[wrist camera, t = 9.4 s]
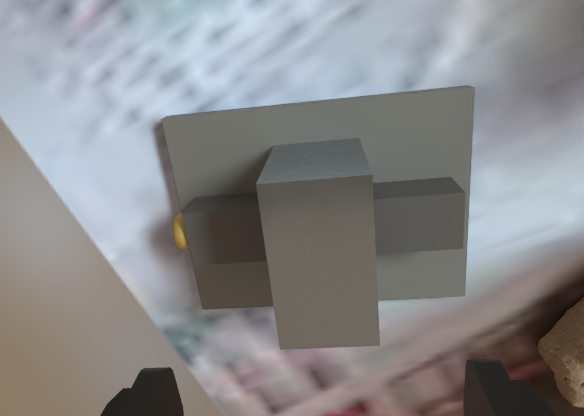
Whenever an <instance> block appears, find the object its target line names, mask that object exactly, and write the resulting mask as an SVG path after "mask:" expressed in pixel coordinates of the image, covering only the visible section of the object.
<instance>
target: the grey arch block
mask: <svg viewBox="0 0 584 416" xmlns="http://www.w3.org/2000/svg"><path fill="white" fill-rule="evenodd" d="M256 189H257V196H258V203H259V209H260V216H261V223H262V230H263V236H264V243H265V250H266V257H267V264H268V270H269V277H270V284H271V291H272V298H273V304H274V311H275V318H276V325H277V331H278V338H279V345H280V350H284V349H308V348H333V347H358V346H380V340H379V316H378V292H377V268H376V244H375V220H374V196H373V174H372V172H371V169H370V166H369V163H368V160H367V158H366V155H365V152H364V149H363V146H362V144H361V141H360V138H350V139H339V140H328V141H317V142H306V143H295V144H284V145H274V147H273V149H272V151H271V153H270V155H269V157H268V159H267V162H266V164H265V166H264V168H263V170H262V172H261V174H260V177H259V179H258V181H257V183H256Z"/></svg>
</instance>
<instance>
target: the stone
mask: <svg viewBox="0 0 584 416" xmlns="http://www.w3.org/2000/svg"><path fill="white" fill-rule="evenodd" d="M538 351H539V353H540V354H541V356H542V357H543V359H544V360H545V362H546V364H548V365H549V366H550V368H551V370H552V371H553V372H554V378H555V381H556V384H557V388H558V390H559V392H560V393H561V395H562V396H563V397H564V398H565V399H566V400H567V401H568V402H569V403H570V404H571V405H573V406H575V407H581V408H584V297H583V298H582V299H581V300H580V301H579V302H578V303H577V304H575V305H574V306H573V307H572V308H570V309H569V310H567V311H566V312H565V314H564V316H563V317H562V318H561V319H560V320H558V321H557V323H556V324H555V325H554V326H553V328H552V329H551V330H550V331H549V332H548V333H547V334H546V335H545V336H544V337H543V338H541V339H540V340H539V343H538Z"/></svg>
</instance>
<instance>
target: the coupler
mask: <svg viewBox="0 0 584 416" xmlns="http://www.w3.org/2000/svg"><path fill="white" fill-rule="evenodd" d="M474 89H475V88H474V87H471V86H458V87H448V88H439V89H429V90H419V91H409V92H399V93H389V94H379V95H370V96H360V97H350V98H340V99H330V100H320V101H310V102H300V103H291V104H281V105H271V106H261V107H251V108H241V109H231V110H222V111H212V112H202V113H192V114H182V115H172V116H167V117H165V118H163V119H161V120H162V125H163V130H164V134H165V139H166V143H167V148H168V152H169V157H170V162H171V166H172V171H173V175H174V180H175V184H176V189H177V193H178V198H179V203H180V207H181V212H182V213H179V214H177V215H176V217H175V220H174V226H173V232H174V239H175V243H176V245H177V247H178V248H179V249H180V250H183V249H190V253H191V258H192V262H193V267H194V271H195V276H196V280H197V285H198V289H199V294H200V298H201V303H202V308H203V309H221V308H241V307H260V306H274V304H273V298H272V291H271V284H270V277H269V270H268V264H267V257H266V250H265V243H264V236H263V230H262V223H261V216H260V209H259V203H258V196H257V189H256V183H257V181H258V179H259V177H260V174H261V172H262V170H263V168H264V166H265V164H266V162H267V159H268V157H269V155H270V153H271V151H272V149H273V147H274V145H284V144H295V143H306V142H317V141H328V140H339V139H350V138H360V141H361V144H362V146H363V149H364V152H365V155H366V158H367V160H368V163H369V166H370V169H371V172H372V174H373V196H374V220H375V244H376V268H377V292H378V300H398V299H417V298H437V297H456V296H465V283H466V261H467V240H468V218H469V197H470V175H471V154H472V132H473V110H474Z"/></svg>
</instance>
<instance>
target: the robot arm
mask: <svg viewBox="0 0 584 416" xmlns="http://www.w3.org/2000/svg"><path fill="white" fill-rule="evenodd" d="M464 414H465V416H554V414H553V413H552V411H551V409H550V408H549V406H548V404H547V402H546V401H545V399H544V397H543V396H542V395H541V394H540V393H539V392H537V391H536V390H535V389H534V388H533V387H532V386H531V385H529V384H528V383H527V382H526V381H525V380H510V378H509V376H508V374H507V372H506V370H505V369H504V367H503V365H502V363H501V362H500V360H498V359H478V360H467V362H466V372H465V388H464ZM101 416H184V413H183V405H182V402H181V398H180V394H179V391H178V387H177V383H176V380H175V376H174V373H173V370H172V369H171V368H169V367H168V368H144V369H142V370H141V371H140V373H139V374H138V376H137V378H136V380H135V382H134V384H133V386H132V387H131V388H126V389H125V388H124V389H122V390H121V391H120V392H119V393H118V394H117V395H116V396H115V397H114V398H113V399H112V400H111V401H110V402H109V403H108V404H107V405H106V407H105V409H104V410H103V412H102V414H101Z"/></svg>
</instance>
